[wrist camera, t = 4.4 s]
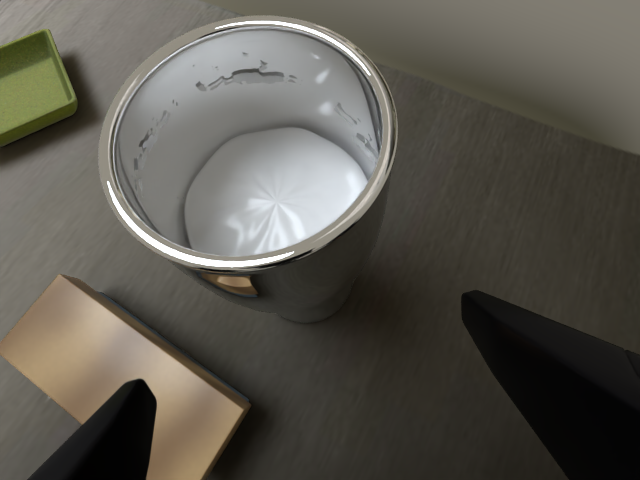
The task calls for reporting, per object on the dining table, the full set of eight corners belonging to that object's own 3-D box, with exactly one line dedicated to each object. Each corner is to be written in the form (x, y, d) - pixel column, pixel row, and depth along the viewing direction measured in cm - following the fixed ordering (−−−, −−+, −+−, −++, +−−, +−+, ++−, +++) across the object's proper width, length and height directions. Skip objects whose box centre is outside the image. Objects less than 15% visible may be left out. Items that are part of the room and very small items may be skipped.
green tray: (67, 47, 29) (47, 25, 27) (96, 118, 26) (76, 99, 24) (-33, 90, 28) (-61, 70, 26) (-13, 168, 25) (-42, 152, 23)
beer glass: (300, 205, 23) (243, -31, 9) (382, 267, 21) (474, 100, 7) (230, 282, 21) (22, 147, 7) (311, 355, 20) (250, 366, 6)
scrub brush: (259, 399, 19) (244, 410, 16) (209, 482, 18) (181, 511, 15) (99, 284, 22) (58, 273, 19) (46, 349, 21) (-7, 349, 17)
